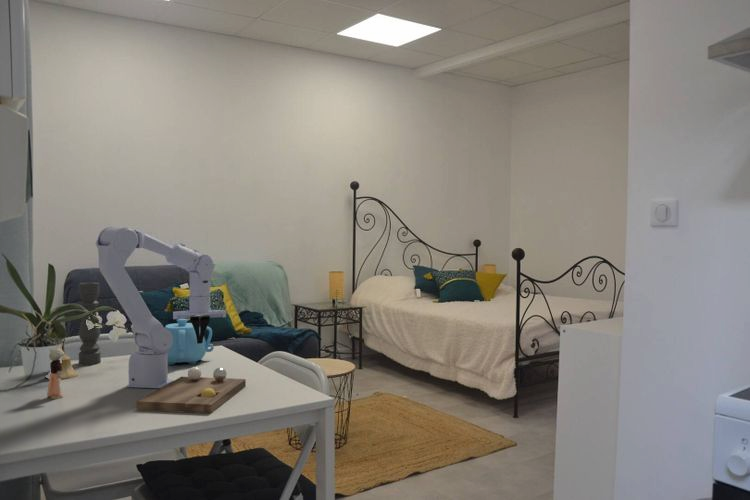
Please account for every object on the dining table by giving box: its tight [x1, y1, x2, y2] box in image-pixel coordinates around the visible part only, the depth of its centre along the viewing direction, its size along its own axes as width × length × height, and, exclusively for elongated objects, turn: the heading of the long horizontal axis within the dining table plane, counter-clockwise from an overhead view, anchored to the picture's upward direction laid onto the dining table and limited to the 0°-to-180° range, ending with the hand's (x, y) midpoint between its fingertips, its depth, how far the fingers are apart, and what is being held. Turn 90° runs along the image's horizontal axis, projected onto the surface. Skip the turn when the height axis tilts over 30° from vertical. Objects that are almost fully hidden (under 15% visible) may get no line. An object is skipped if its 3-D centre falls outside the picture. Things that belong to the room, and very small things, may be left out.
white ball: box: [187, 366, 202, 380], centre depth 159 cm, size 4×4×4 cm
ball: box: [201, 388, 216, 397], centre depth 145 cm, size 4×4×4 cm
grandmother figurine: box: [46, 346, 64, 400], centre depth 149 cm, size 8×4×13 cm, turn 49°
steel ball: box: [212, 367, 228, 381], centre depth 158 cm, size 4×4×4 cm
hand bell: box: [61, 327, 79, 381], centre depth 170 cm, size 8×8×16 cm
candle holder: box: [78, 282, 102, 366], centre depth 187 cm, size 6×6×25 cm
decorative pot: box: [164, 318, 215, 366], centre depth 191 cm, size 16×16×14 cm
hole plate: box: [136, 376, 247, 414], centre depth 150 cm, size 18×24×2 cm
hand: (199, 342), depth 172 cm, fingers closed
